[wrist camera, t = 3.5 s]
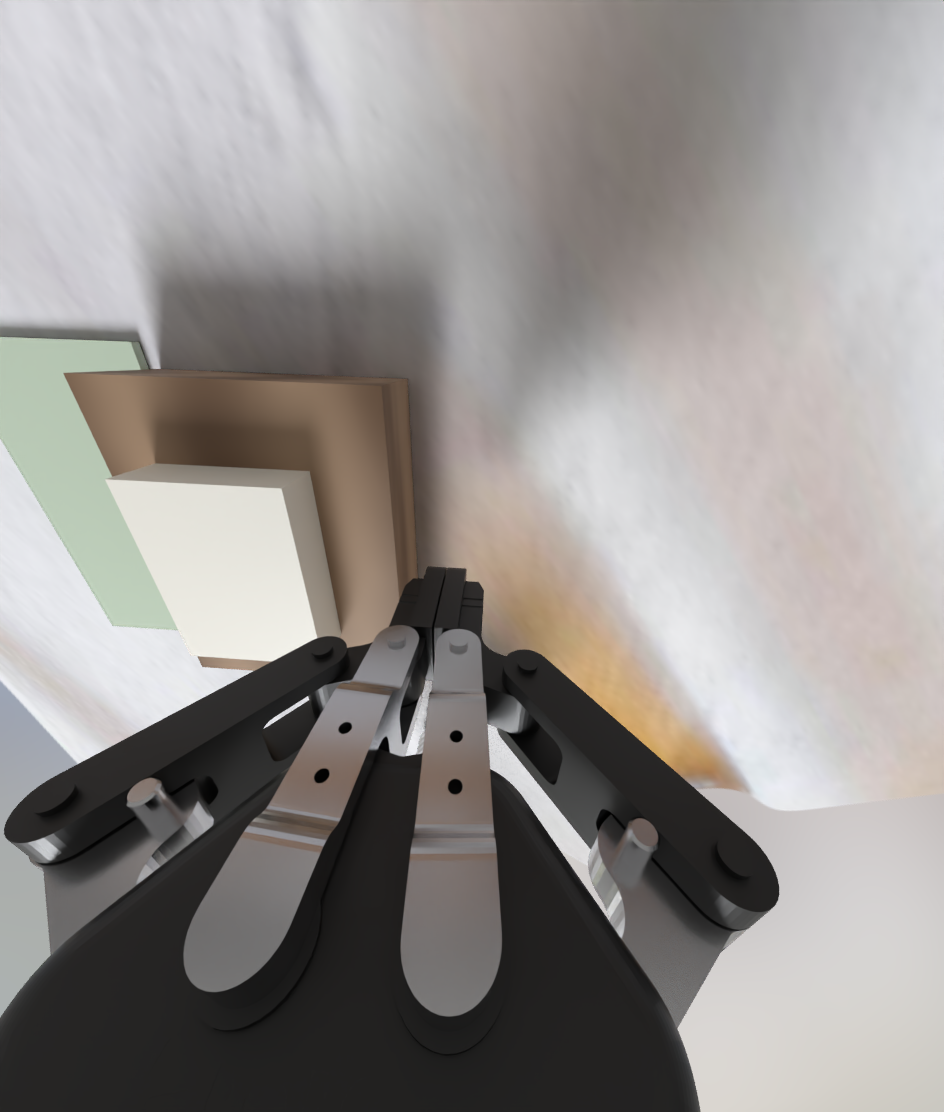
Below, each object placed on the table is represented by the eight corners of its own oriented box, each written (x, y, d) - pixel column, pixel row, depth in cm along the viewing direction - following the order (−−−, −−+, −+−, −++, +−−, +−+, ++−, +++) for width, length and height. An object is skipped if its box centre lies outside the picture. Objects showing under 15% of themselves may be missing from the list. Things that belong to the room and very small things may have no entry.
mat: (138, 342, 15) (130, 341, 15) (244, 630, 23) (240, 634, 23) (-50, 335, 16) (-63, 334, 15) (118, 621, 23) (112, 625, 23)
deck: (407, 378, 15) (381, 385, 12) (420, 630, 22) (406, 681, 19) (159, 368, 16) (63, 373, 12) (247, 618, 23) (202, 666, 19)
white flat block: (309, 471, 13) (281, 488, 12) (341, 633, 17) (323, 665, 16) (154, 463, 14) (104, 479, 12) (221, 625, 18) (190, 655, 16)
